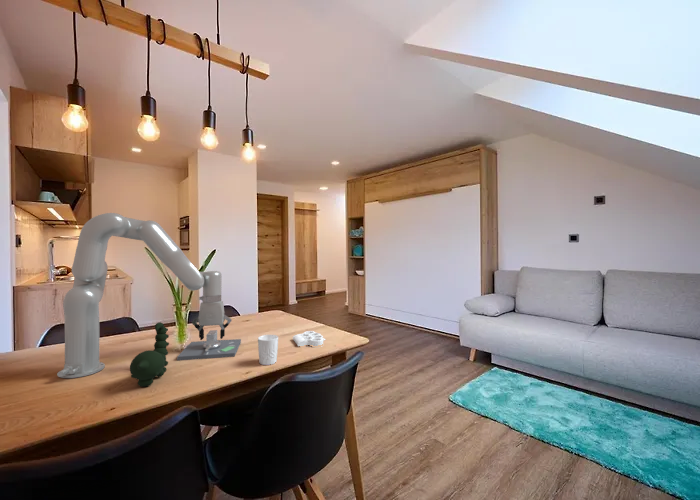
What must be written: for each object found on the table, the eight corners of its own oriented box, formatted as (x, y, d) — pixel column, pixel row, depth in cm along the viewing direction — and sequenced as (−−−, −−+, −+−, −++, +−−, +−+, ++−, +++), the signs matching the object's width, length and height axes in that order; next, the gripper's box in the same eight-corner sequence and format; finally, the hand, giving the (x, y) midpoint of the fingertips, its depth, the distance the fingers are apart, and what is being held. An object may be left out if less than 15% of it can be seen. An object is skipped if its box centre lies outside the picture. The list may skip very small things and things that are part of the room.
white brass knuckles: (291, 339, 153) (318, 336, 159) (299, 350, 137) (330, 346, 142) (291, 332, 153) (318, 329, 159) (299, 343, 137) (330, 339, 142)
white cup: (282, 360, 123) (282, 336, 123) (267, 367, 116) (268, 341, 116) (268, 357, 127) (268, 333, 127) (253, 363, 120) (253, 338, 120)
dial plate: (234, 356, 127) (234, 352, 127) (177, 360, 122) (177, 356, 122) (240, 342, 146) (240, 338, 146) (191, 344, 142) (191, 341, 142)
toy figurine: (147, 371, 115) (120, 396, 92) (149, 321, 117) (122, 332, 93) (175, 368, 118) (155, 391, 94) (176, 319, 120) (157, 330, 96)
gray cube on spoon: (221, 343, 138) (221, 329, 138) (215, 354, 125) (215, 338, 125) (205, 344, 137) (205, 330, 137) (197, 355, 124) (197, 339, 124)
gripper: (188, 301, 129) (188, 342, 129) (231, 299, 132) (231, 339, 132) (193, 298, 136) (193, 337, 136) (234, 297, 140) (234, 335, 140)
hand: (212, 338), depth 134 cm, fingers open, 7 cm apart
